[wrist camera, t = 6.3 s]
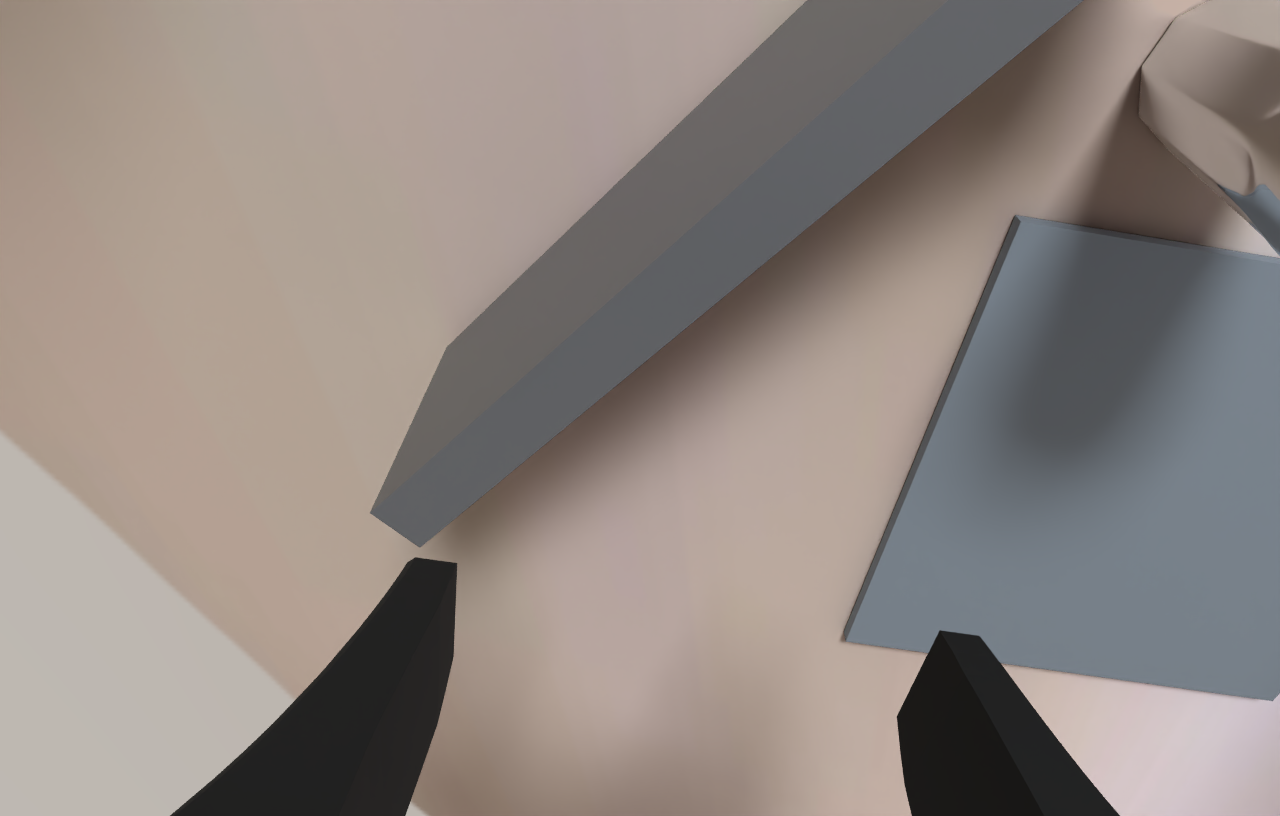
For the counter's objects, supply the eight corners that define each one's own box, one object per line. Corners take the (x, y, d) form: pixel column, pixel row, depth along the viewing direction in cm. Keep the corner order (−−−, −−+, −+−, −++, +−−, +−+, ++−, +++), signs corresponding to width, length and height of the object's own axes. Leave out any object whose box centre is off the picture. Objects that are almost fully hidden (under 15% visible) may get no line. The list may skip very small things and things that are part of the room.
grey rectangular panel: (1273, -297, 14) (1637, -377, 9) (501, 391, 23) (441, 571, 17) (1207, -439, 13) (1563, -623, 8) (427, 331, 22) (340, 501, 16)
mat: (1591, 309, 20) (1607, 317, 20) (1265, 690, 28) (1272, 700, 28) (1015, 214, 20) (1021, 221, 19) (843, 631, 28) (845, 641, 27)
